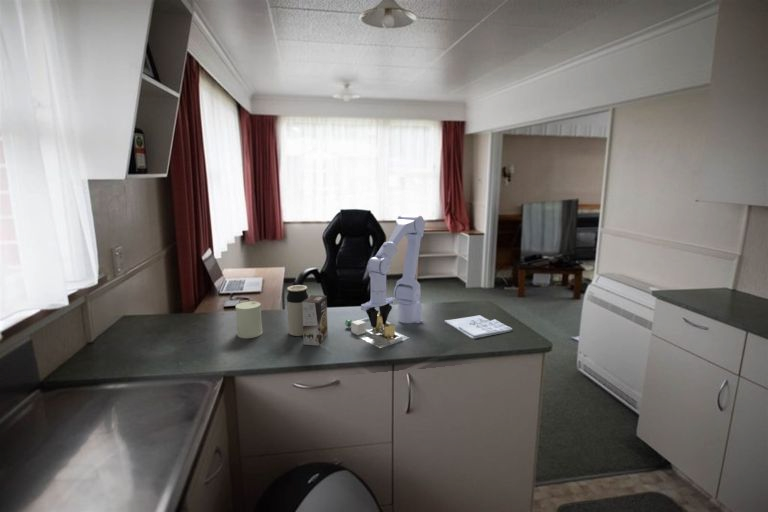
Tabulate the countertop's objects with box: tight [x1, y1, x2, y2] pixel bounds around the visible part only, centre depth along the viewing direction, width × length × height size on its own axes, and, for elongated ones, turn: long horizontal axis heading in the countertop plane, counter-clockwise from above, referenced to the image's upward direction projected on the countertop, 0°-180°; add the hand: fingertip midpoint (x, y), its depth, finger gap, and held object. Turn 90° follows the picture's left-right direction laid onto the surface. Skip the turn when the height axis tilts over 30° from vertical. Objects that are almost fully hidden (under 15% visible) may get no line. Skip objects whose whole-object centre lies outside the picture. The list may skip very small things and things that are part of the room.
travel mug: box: [286, 284, 309, 337], centre depth 158 cm, size 8×8×18 cm
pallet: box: [358, 327, 410, 349], centre depth 151 cm, size 14×13×3 cm
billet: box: [371, 312, 384, 331], centre depth 153 cm, size 4×4×6 cm
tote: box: [360, 317, 393, 331], centre depth 165 cm, size 12×12×2 cm
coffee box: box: [302, 294, 329, 347], centre depth 150 cm, size 9×6×16 cm
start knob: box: [344, 318, 353, 328], centre depth 159 cm, size 3×7×3 cm, turn 40°
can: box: [235, 300, 264, 339], centre depth 157 cm, size 9×9×12 cm
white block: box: [350, 319, 367, 336], centre depth 156 cm, size 4×4×5 cm
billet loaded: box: [383, 323, 396, 340], centre depth 149 cm, size 4×4×6 cm
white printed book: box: [444, 314, 513, 340], centre depth 166 cm, size 19×20×2 cm
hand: (378, 325), depth 153 cm, fingers closed on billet, 4 cm apart
